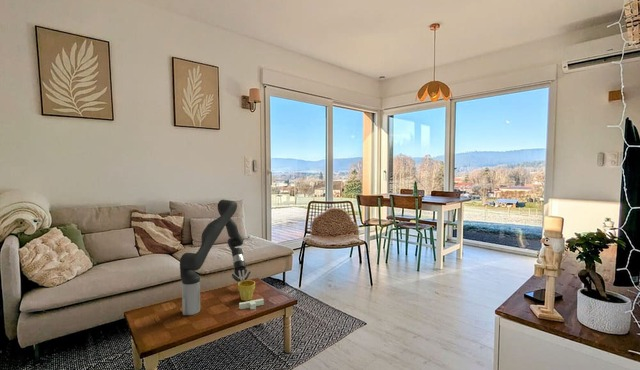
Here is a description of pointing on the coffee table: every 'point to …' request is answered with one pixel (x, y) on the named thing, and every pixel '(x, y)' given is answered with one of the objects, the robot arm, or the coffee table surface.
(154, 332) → the coffee table surface
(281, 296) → the coffee table surface
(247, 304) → the t stop
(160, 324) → the coffee table surface
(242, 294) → the plant pot
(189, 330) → the coffee table surface
